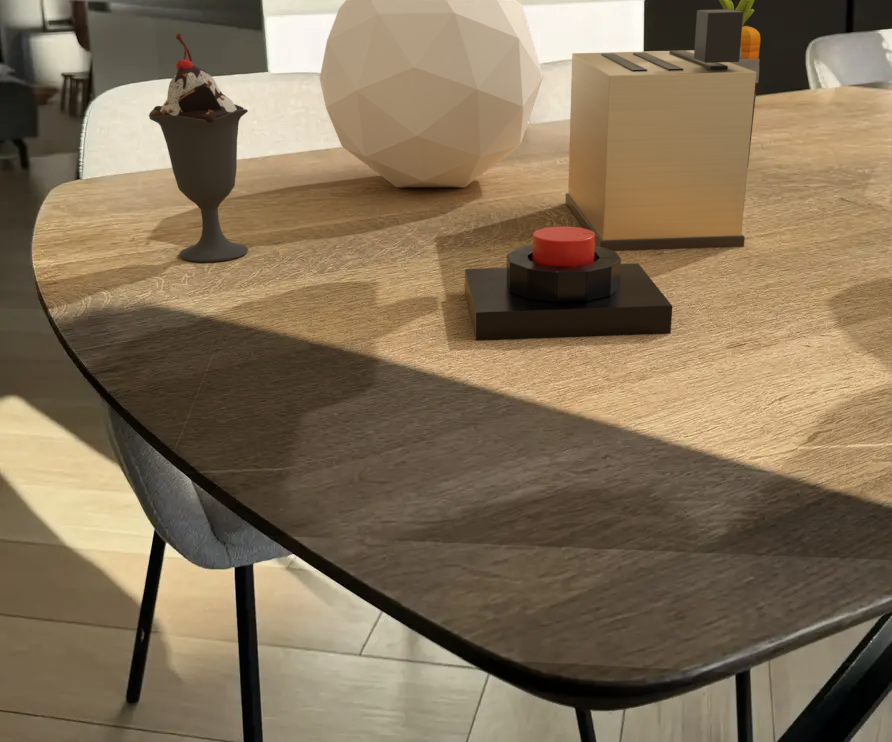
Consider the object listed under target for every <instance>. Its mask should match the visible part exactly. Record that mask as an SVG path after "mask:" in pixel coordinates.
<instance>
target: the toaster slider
mask: <svg viewBox="0 0 892 742" xmlns="http://www.w3.org/2000/svg"><path fill="white" fill-rule="evenodd" d="M695 20H696V21H695V36H694V59H697V60H700V61H702V62H705V63H717V62H739V58H740V47H741V35H742V23H743V12H741V11H736V10H735V9H734V10H731V9H725V10H724V9H697V11H696V19H695Z"/></svg>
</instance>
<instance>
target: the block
mask: <svg viewBox="0 0 892 742" xmlns="http://www.w3.org/2000/svg"><path fill="white" fill-rule="evenodd" d="M532 259H533V244H532V245H527V246H522V247H518V248H516V249H514V250H512V251H511V252H509V253H507V254H506V267H489V268H486V267H485V268H484V267H483V268H465V269H464V296H465V301H466V304H467V308H468V313H469V316H470V321H471V325H472V329H473V334H474V337H475V341H476V342H480V341H509V340H536V339H537V340H539V339H563V338H564V339H565V338H593V337H617V336H618V337H621V336H622V337H623V336H645V335H647V336H648V335H650V336H651V335H670V334H671V331H672V320H673V319H672V318H673V305H672V303H671V302H670V300H668V299H667V297H666V296H665V295H664V294H663V292H662V291H661V290H660V288H659V286H657V284H655V282H654V281H653V279H652V278H651V277H650V276H649V275H648V273H647V272H646V271H645V269H644V268H643V267H642V266H641V264H640V263H637V262H635V263H622V258H621V257H620V255H619V254H618V253H617V251H613V250H610V249H606V248H603V247H600V246H597V245H595V252H594V263H590V264H585V265H580V266H552V265H543V264H538V263H535V262H533V261H532Z"/></svg>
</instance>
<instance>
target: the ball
mask: <svg viewBox="0 0 892 742" xmlns="http://www.w3.org/2000/svg"><path fill="white" fill-rule="evenodd" d="M325 43H326V44H325V49H324V50H325V51H324V54H323V59H322V65H321V69H320V74H319V83H320V87H321V91H322V97H323V101H324V106H325V109H326V112H327V114H328V116H329V119H330V121H331V123H332V126H333V128H334V131H335V133H336V136H337V138H338V141H339V142H340V145H341V147H342V148H344V149H345V150H346V151H347V152H349V153H350V154H351V155H353V156H354V157H356V158H357V159H358V160H359V161H361V162H362V163H364V164H365V165H366V166H367V167H368V168H370V169H371V170H373V171H374V172H375V173H377V174H378V175H379V176H381V177H382V178H383V179H385V180H386V181H388V182H389V183H390V184H392V185H393V186H394V187H395V188H426V189H427V188H436V189H437V188H440V189H441V188H443V189H445V188H447V189H449V188H452V189H453V188H455V189H457V188H458V189H459V188H463V189H464V188H466V187H467V186H468V185H470V184H471V183H472V182H474V181H475V180H477V179H478V178H479V177H481V176H483V174H485V173H486V172H487V171H489V170H490V169H491V168H493V167H494V166H496V165H497V164H499V162H501V161H503V160H504V159H505V158H507V157H508V156H509V155H510V154H512V153H513V152H514V151H516V150H517V149H518V148H520V147H521V145H522V142H523V139H524V136H525V133H526V130H527V127H528V123H529V121H530V119H531V114H532V112H533V108H534V106H535V102H536V99H537V96H538V93H539V90H540V88H541V84H542V83H543V78H544V75H543V71H542V67H541V64H540V61H539V58H538V54H537V51H536V47H535V44H534V41H533V37H532V34H531V31H530V26H529V24H528V20H527V16H526V12H525V9H524V6H523V4H522V3H520V2H519V1H517V0H345V1H344V2H343V3H342V4H341V5H340V6H339V8H338V10H337V13H336V16H335V19H334V21H333V24H332V26H331V29H330V32H329V34H328V36H327V38H326V42H325Z"/></svg>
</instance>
